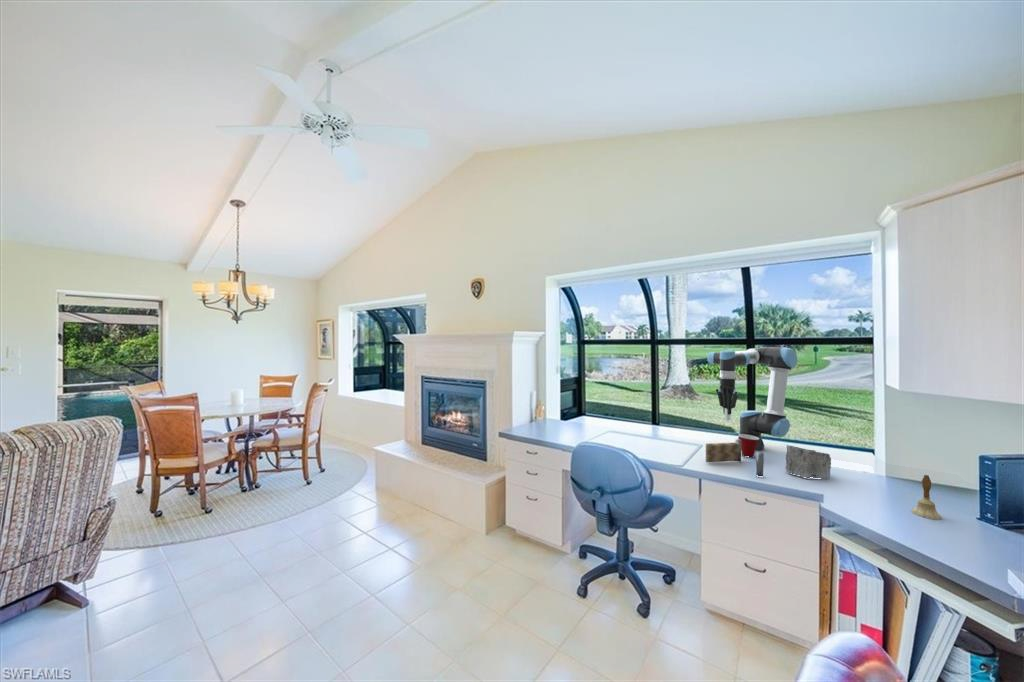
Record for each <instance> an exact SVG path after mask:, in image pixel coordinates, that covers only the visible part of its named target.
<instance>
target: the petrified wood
mask: <svg viewBox="0 0 1024 682" xmlns="http://www.w3.org/2000/svg"><path fill="white" fill-rule="evenodd" d="M785 460H786V462H785V464H786V465H785V472H786V473H787V472H788V473H792V474H795V475H800V476H802V477H806V478H810V477H813V478H821V479H820V480H830V477H831V469H832V466H831V465H832V458H831V456H830V453H828V452H827V453H825V452H821V451H816V450H814V449H806V448H803V447H799V446H793V445H789V444H787V445H786V453H785ZM788 473H787V474H788ZM792 474H791V475H792ZM795 475H794V476H795ZM802 477H801V478H802Z"/></svg>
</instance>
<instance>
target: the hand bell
mask: <svg viewBox="0 0 1024 682" xmlns="http://www.w3.org/2000/svg"><path fill="white" fill-rule="evenodd" d="M921 487H922V488H923V489H922V490H923V498H921V499H918V501H917V505H916V506H915V508H912V509H911V513H913V514H914V515H916V516H918V517H921V518H926V519H929V520H937V521H939V520H942V516H941V515H940V514H939V512H938V511H937V508H936V503H935V502H933V501H932V500H931V497H930V490H931V489H932V480H931V478H930V475H928V474H923V478H922V479H921Z"/></svg>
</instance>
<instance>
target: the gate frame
mask: <svg viewBox="0 0 1024 682" xmlns="http://www.w3.org/2000/svg"><path fill="white" fill-rule="evenodd" d="M734 442H738V443H739V461H741V462H742V451H741V442H742V440H740V439H738V438H736V439H735V440H734ZM764 456H765V454H764V453H763V452H761V451H760V452H759V451H758V452H756V461H755V462H756V469H755V470H756V473H755V474H756V475H758V476H763V477H764V461H765V458H764ZM756 475H755V476H756Z"/></svg>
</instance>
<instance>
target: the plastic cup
mask: <svg viewBox="0 0 1024 682" xmlns="http://www.w3.org/2000/svg"><path fill="white" fill-rule="evenodd" d="M738 437H739V439H740V440H742V442H741V456H743V455H744V456H743V457H745V456H749V457H748V458H754V457H755V454H756V453H755V452H756V450H755V449H756V445H757V442H758V440H759V438H758V437H755V436H751V435H746V434H740V433H738ZM753 456H754V457H753Z"/></svg>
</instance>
